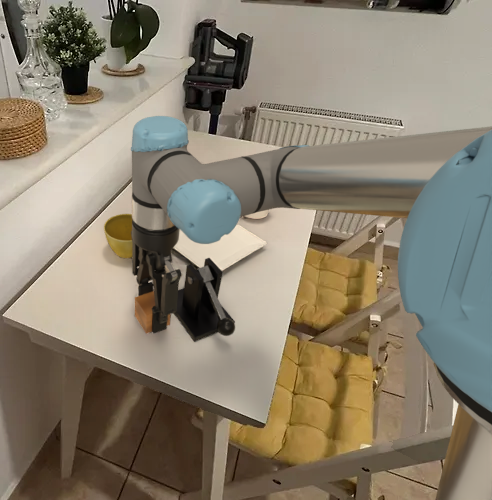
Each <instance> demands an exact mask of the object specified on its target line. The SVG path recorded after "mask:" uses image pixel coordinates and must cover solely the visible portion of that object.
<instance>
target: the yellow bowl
mask: <svg viewBox="0 0 492 500" xmlns="http://www.w3.org/2000/svg"><path fill="white" fill-rule="evenodd" d="M103 231H104V235H105V239H106V242H107V243H108V245H109V247H110V248H111V250H112V251H113V252H114V254H115V255H117V256H118V257H119V258H121V259H132V236H131V231H132V213H120V214H115V215H113V216H111V217H109V218H108V219H106V221H105V222H104V224H103Z"/></svg>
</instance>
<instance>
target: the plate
mask: <svg viewBox="0 0 492 500" xmlns="http://www.w3.org/2000/svg"><path fill="white" fill-rule="evenodd" d="M266 245H268V242H267V241H266V240H264V239H262V238H261V237H259V236H258V235H256V234H254V233H252V232H251V231H250V230H249V229H247V228H244V227H243V226H241V225H240V224H238V223H237V225H236V226H235V228H234V229H233V230H232V231H231V232H230V233H229V234H228V235H224V236H222V237H221V239H220V240H219V241H217V242H214V243H210V244H200V243H196V242H193V241H192V240H190V239H189V238H188V237H187V236H186V235H185V234H184V233H183V232H182V231H181V230H180V232H179V240H178V242H177V244H176V245H175V246H174V247H173V249H174V250H175V251H176V252H178V253H179V254H180V255H182V256H183V257H184V258H186V260H188V261H189V262H191V264H192V265H195V266H196V267H197V268H201V267H204V263H205V259H207V258H210V259H211V260H212V261H213V262H214V263H215V264H216V265H217V266H218V267H219V269H220V270H221V271H222V272H224V271H225V270H227V268H229V267H231V266H233V265H235V264H237V263H238V262H239V261H241V260H243V259H244V258H246V257H248V256H249V255H251V254H253V253H255V252H256V251H258V250H259V249H261V248H263V247H265V246H266Z"/></svg>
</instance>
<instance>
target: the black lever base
mask: <svg viewBox="0 0 492 500" xmlns="http://www.w3.org/2000/svg"><path fill="white" fill-rule="evenodd" d="M207 265H208V267H209V269H210V271H211V274H212V276H213V278H214V279H213V280H212V281H211V285H212V287H213V289H214V291H215V294H216V296H217V298H218V299H219V294H220V289H221V283H222V277H223V274H224V273H223V272H224V271H221V270H220V269H219V267H218V266H217V265H216V264H215V263H214V262H213V261H212V260H211V259H210V258H207V259H205V263H204V266H207ZM203 281H204V278H203V277H202V276H201V275H200V274H199V272H198V271H197V268H196V267H194V264H193V263H189V264H187V265H186V268H185V277H184V284H183V288H180V289H178V299H177V311H176V312H174V313H173V314H174V316H175V317H176V318H177V319H178V321H179V322H180V324H181V325H182V327H183V328H184V329H185V331H186V332H187V333H188V335H189V336H190V338H191V339H192V340H193V342H197V341H200V340H202V339H205V338H208V337H210V336H212V335H215V334H217V333H219V332H218V330H217V323H218V322H219V319H218V317H217V315H216V312H215V310H214V308H213V306H212V303H211V301H210V299H209V296H208V294H207V292H206V290H205V287H204V285H203ZM220 305H221V307H222V309H223V312H224V314H225V316H226V318H229V319H231V320H232V321H233V322H234V324H235V323H236V321H235V320H234V318H233V317H232V316H231V315H230V314H229V312H228V310H226V309H225V308H224V306H223V305H222V304H221V303H220ZM235 325H236V324H235Z"/></svg>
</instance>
